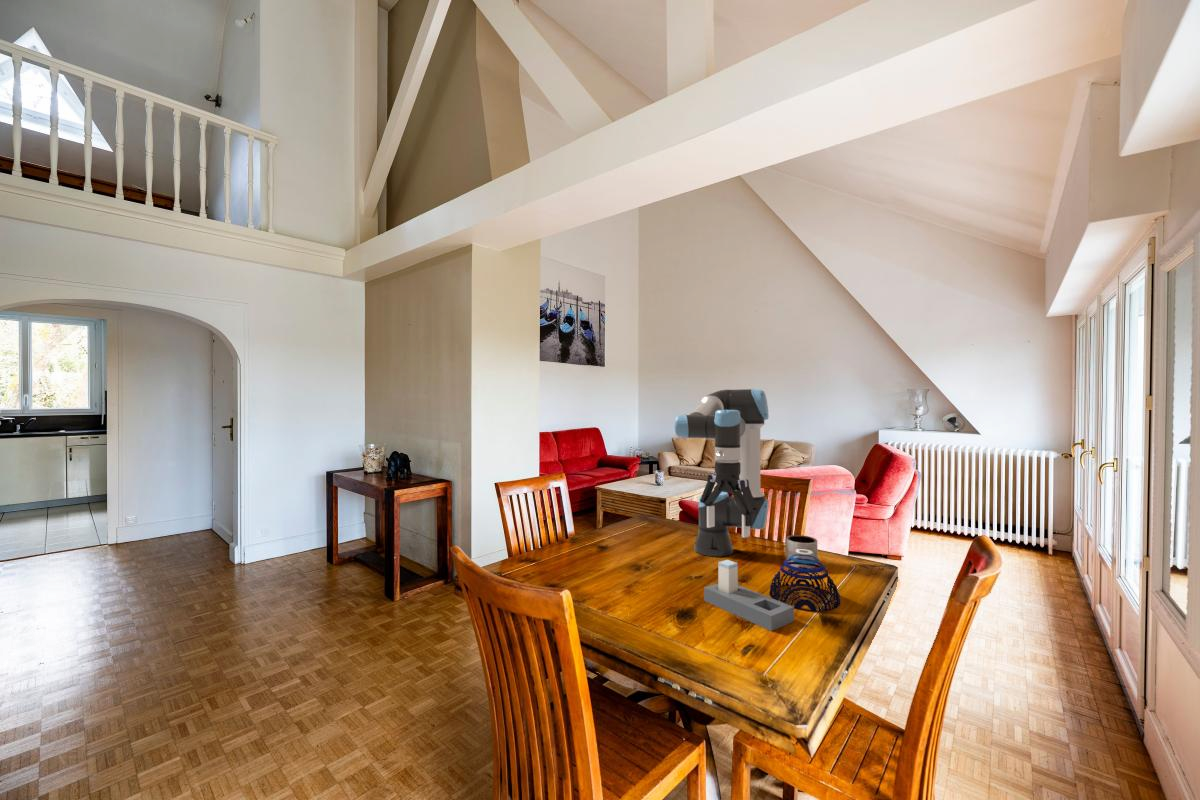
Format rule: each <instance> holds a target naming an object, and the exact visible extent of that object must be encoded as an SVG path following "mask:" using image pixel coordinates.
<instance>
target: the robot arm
mask: <svg viewBox="0 0 1200 800" xmlns="http://www.w3.org/2000/svg"><path fill="white" fill-rule="evenodd" d="M768 419H769V405H768V400H767V395H766V392H765V391H764V390H762V389H754V388H749V389H748V388H747V389H743V388H742V389H722V390H721V389H720V390H717V391H714V392H711V393H709V394H708V395H706V396H704V397H703V398H702V399H701V400H700V402H699V403H698V406H697V407H696V408H695V409H693V411H691V412H690V413H689V414H679V415H677V416H676V417H675V421H674V431H675V432H674V433H675V435H676V436H677V437H678V438H685V439H714V459H715V460H716V461H715V462H714V473H715V474H713V473H712V474H708V475H707V481H706V484H705V487H704V490H703V491H702V494H701V495H700V496H698V497H699V498H698V505H697V507H698V532H697V535H696V538H695V541H694V545H693V546H694V548H693V549H694V551H695V553H696V554H697V553H698V554H700V555H702V556H707V557H708V556H709V557H726V556H730V555H733V553H734V546H733V544H732V541H731V537H730V533H729V528H740V529H741V538H744V539H745V538H749V537H751V530H763V529H764V528H765V526H766V523H767V518H768V512H769V504H770V503H769V502H770V501H769V499H767V498H765V493H764V492H763V491H762V488H761V428H762V427H763V426H764V425H765V421H767V420H768ZM729 494H731V495H732V496H729Z"/></svg>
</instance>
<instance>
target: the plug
mask: <svg viewBox="0 0 1200 800" xmlns="http://www.w3.org/2000/svg"><path fill="white" fill-rule="evenodd" d="M738 565H739V564H738V562H735V561H732V560H729V559H725V560H721V561H718V567H717V568H718V569H717V571H718V574H717V576H718V577H717V578H718V580H717V583H718V590H720V591H723V592H725V593H728V594H731V593H734V592H736V591H738V585H739V577H738V575H739V573H738V569H739V566H738Z"/></svg>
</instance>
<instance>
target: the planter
mask: <svg viewBox="0 0 1200 800" xmlns="http://www.w3.org/2000/svg"><path fill="white" fill-rule="evenodd" d="M796 549H806V550H810V551H812V552H813V554H811V556H814V557H816V558H818V555H819V554H818V539H816V538H815V537H812V536H808V535H802V534H801V535H799V534H794V535H793V534H791V535H787V536H786V537H785V561H786V560H787V559H790V558H789V556H791V555H794V554H798V553H797V552H796ZM799 552H802V553H808V552H807V551H799ZM794 558H802V559H811V560H814V558H813V557H809V556H800V555H796V556H794ZM818 559H819V558H818ZM787 562H793V561H787ZM794 562H795V561H794ZM813 564H815V565H819V564H817V563H813ZM790 565H791V566H794V567H798V568H799V567H806V568H808V569H817V567H815V566H808V565H801V564H800V565H799V564H797V565H796V564H790Z"/></svg>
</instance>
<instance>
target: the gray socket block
mask: <svg viewBox="0 0 1200 800" xmlns="http://www.w3.org/2000/svg"><path fill="white" fill-rule="evenodd" d="M773 598H774V597H773ZM773 598H772V597H771V596H767V595H764V594H761V593H759V592H757V591H754V590H752V589H749V588H746V587H745V586H741V585H739V584H738V591H736V592H734V593H731V594H728V593H725V592H723V591H720V590H718V582H717V583H714V584H711V585H708V586H705V587H703V601H704V602H706V603H708V604H711V605H712V606H715V607H716V608H719V609H721V610H724V611H726V612H728V613H730V614H732V615H734V616H737V617H739V618H741V619H743V620H745V621H748V622H750V623H753V624H754V625H757V626H759V627H761V628H762V629H765V630H768V631H770V632H772V631H773V632H774V630H777V629H779V628H782V627H784V626H786V625H789V624H791V623H793V622H795V609H794V607H795V606H793V605H792V606H791V604H789V605H788V603H786V604H785V603H783V602H780V600H779V601H778V600H775V599H773Z"/></svg>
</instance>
